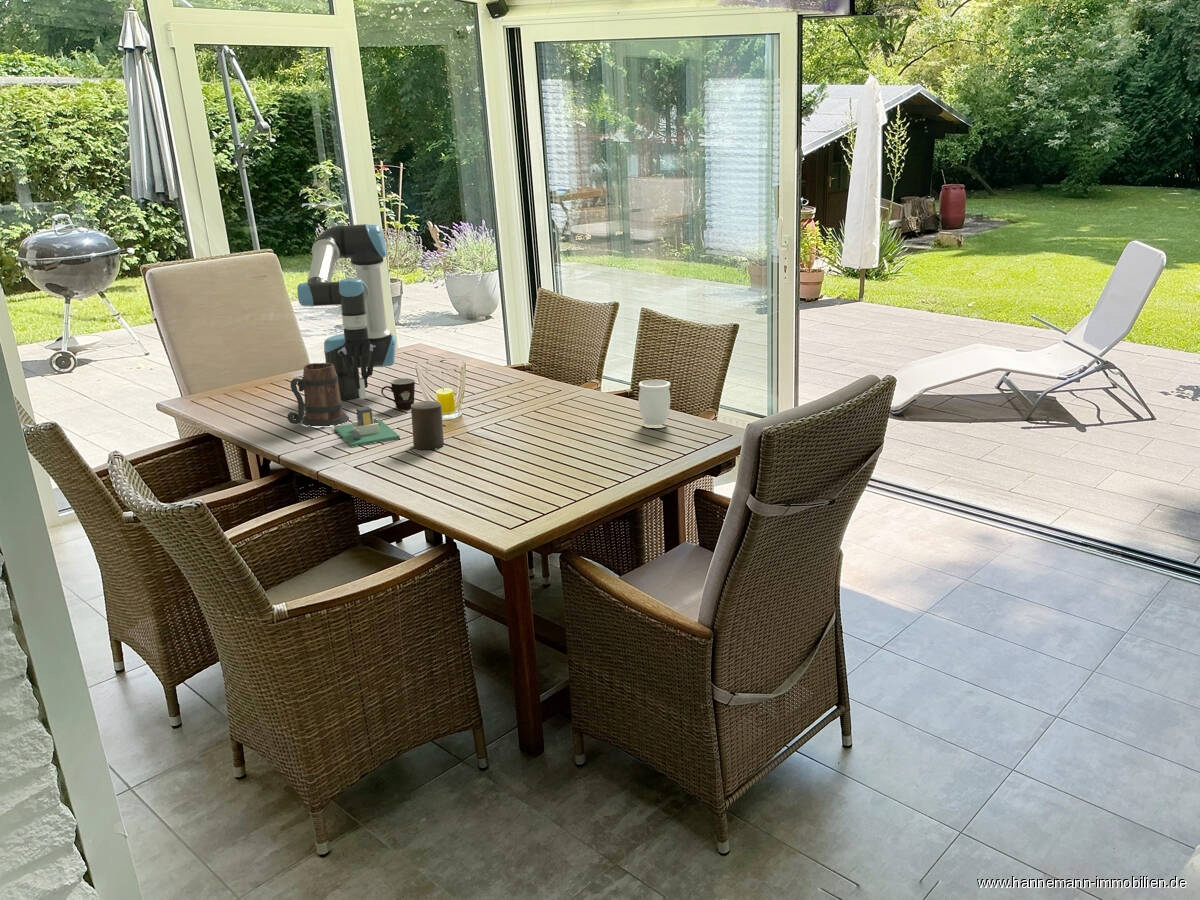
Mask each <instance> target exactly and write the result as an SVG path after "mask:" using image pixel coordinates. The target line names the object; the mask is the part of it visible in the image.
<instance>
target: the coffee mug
mask: <svg viewBox="0 0 1200 900" xmlns="http://www.w3.org/2000/svg"><path fill="white" fill-rule="evenodd" d="M415 382H416V379H414V378H410V377H409V378H407V377H404V378H396V379H393V380H391V381H390V384H391V386H389V385H386V386H383V387H382V388H381V395H382V396H383V397H384V398H386V400H387V399H388V400H390V401H392V402H393V403H395V404H394V405H395V408H396V409H397V410H398V411H409V410H411V405H412V404H414V403H415V388H416V386H415V384H416V383H415ZM385 389H390V391H391V392H392V394H393V399H392V398H391V397H388V396H386V395H385V394H384V392H383V391H384V390H385Z"/></svg>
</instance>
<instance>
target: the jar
mask: <svg viewBox="0 0 1200 900" xmlns="http://www.w3.org/2000/svg"><path fill="white" fill-rule="evenodd" d="M638 387H639V391H638V392H639V393H638V407H639V413H640V417H641V420H642V423H644V424H647V425H662V424H665V423H667V420H668V418H669V415H670V407H671V392H670V387H671V382H670V381H668V380H664V379H647V380H646V379H645V380H641V381H640V382H639V383H638Z"/></svg>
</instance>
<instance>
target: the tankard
mask: <svg viewBox="0 0 1200 900" xmlns="http://www.w3.org/2000/svg"><path fill="white" fill-rule="evenodd" d="M297 386H298V387H297ZM290 389H291V392H292V393H293V394H294V396H295V399H296V400H297V404H298V405H297V410H298V412H294V411H290V412H289V413H288V414H287V421H288V422H289V423H290V424H292V425H299V424H300V423H301V421H302V423H303V424H305V425H310V426H330V425H338V424H341V425H343V424H342V423H344V424H346V423H348V422H349V421H350V420H349V418H350V417H349V416H348V415H347V413H346V412H345V411H343V400H341V398H340V392H339V385H338V375H337V374H336V371H335V368H334V365H333V364H331V363H326V362H321V363H320V362H318V363H315V362H313V363H307V364H306V365H304V366H303V373H302V378H299V377H294V378H293V379H292V380H291V381H290ZM301 392H303V393H304V394H303V395H304V400H303V397H302V395H301V394H300V393H301ZM348 420H349V421H348ZM347 421H348V422H347ZM345 422H346V423H345ZM338 426H339V425H338Z"/></svg>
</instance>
